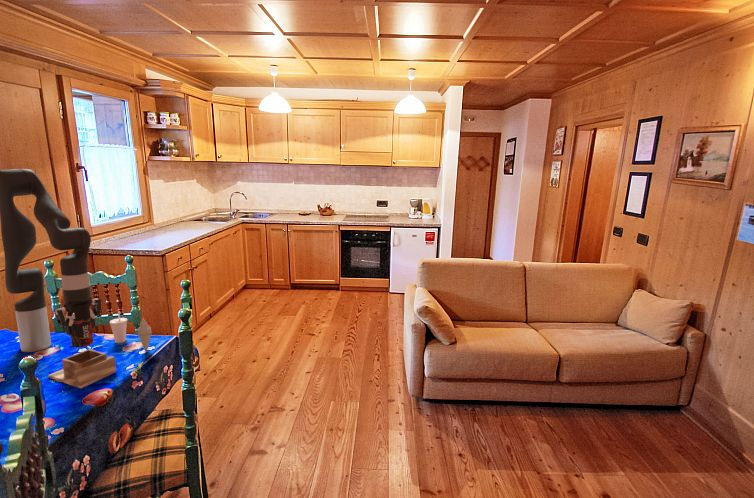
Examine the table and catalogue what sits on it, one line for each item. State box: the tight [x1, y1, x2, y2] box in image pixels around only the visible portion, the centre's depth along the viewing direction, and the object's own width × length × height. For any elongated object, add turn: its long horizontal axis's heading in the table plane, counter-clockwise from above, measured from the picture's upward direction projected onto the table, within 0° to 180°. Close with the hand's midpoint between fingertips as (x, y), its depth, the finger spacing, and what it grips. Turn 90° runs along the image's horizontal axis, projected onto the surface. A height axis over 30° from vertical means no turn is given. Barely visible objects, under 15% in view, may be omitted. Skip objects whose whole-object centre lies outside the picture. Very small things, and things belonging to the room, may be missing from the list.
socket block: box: [61, 348, 108, 380], centre depth 132 cm, size 9×9×6 cm
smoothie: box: [109, 310, 128, 344], centre depth 160 cm, size 6×6×14 cm
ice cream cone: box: [136, 317, 153, 352], centre depth 152 cm, size 5×5×15 cm
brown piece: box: [48, 355, 117, 389], centre depth 133 cm, size 17×12×6 cm
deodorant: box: [68, 302, 94, 349], centre depth 129 cm, size 6×6×15 cm
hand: (81, 331), depth 130 cm, fingers closed on deodorant, 6 cm apart
